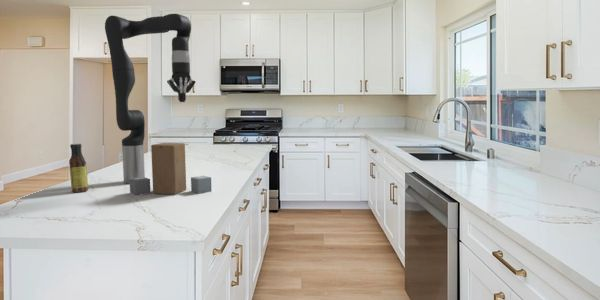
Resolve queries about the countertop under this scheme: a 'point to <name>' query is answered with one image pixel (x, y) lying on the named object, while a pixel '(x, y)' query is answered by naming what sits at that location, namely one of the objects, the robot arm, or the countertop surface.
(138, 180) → the charcoal marked block
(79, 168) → the sauce bottle
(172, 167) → the wooden block
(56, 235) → the countertop surface
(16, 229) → the countertop surface
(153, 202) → the countertop surface
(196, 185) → the slate marked block
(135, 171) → the robot arm
